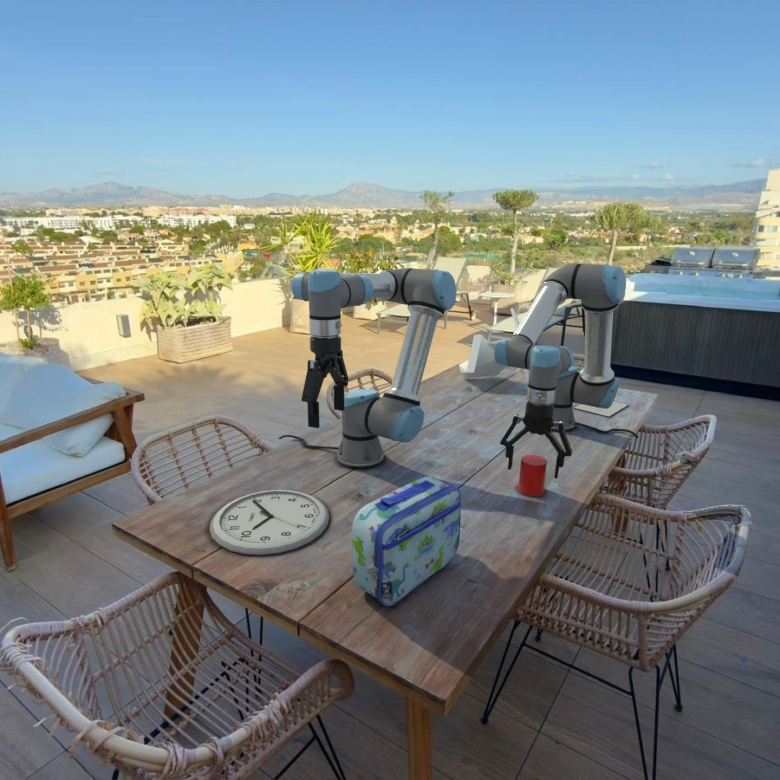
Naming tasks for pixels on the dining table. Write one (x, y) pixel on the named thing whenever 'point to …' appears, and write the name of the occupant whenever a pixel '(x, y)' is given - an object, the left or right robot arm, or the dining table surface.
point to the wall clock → (269, 522)
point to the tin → (532, 475)
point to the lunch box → (405, 538)
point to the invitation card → (606, 412)
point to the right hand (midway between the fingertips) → (532, 472)
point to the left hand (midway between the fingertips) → (327, 418)
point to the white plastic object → (485, 357)
